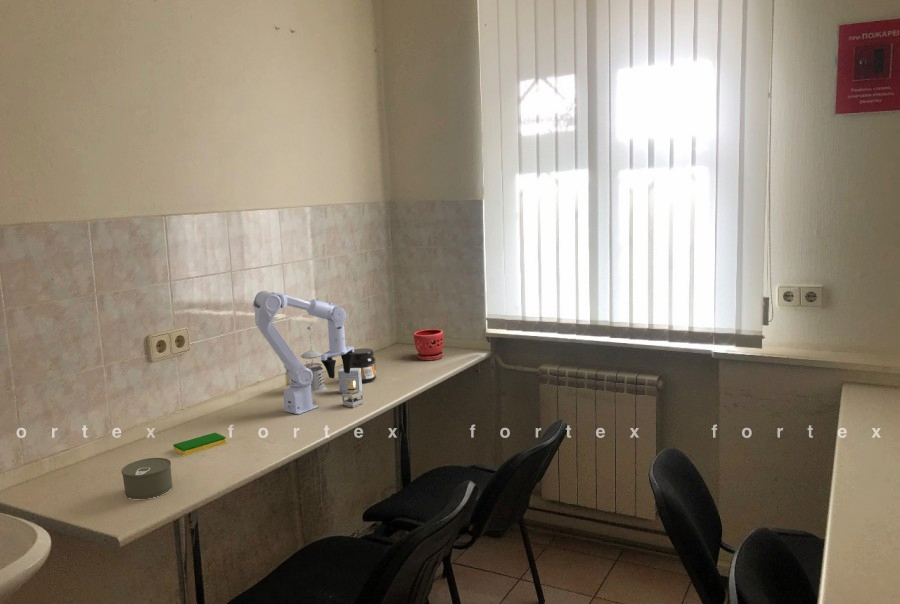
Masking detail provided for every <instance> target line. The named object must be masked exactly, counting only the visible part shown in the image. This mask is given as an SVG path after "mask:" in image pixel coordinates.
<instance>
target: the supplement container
mask: <svg viewBox="0 0 900 604" xmlns="http://www.w3.org/2000/svg"><path fill="white" fill-rule="evenodd" d="M352 353H355V356H354V358H353V361H352V364H351V368H361V380H362V384H368V383H371V382H374V381H376V379H377V367H376V357H375V356H374V355H375V351H374V349H372V348H369V347H368V348H365V347H364V348H354V352H352ZM367 382H368V383H367Z"/></svg>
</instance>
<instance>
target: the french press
mask: <svg viewBox="0 0 900 604" xmlns="http://www.w3.org/2000/svg"><path fill="white" fill-rule="evenodd" d="M306 329H307V330H313V326H311V325H309V326H307V327H306ZM309 340H310V343H312V337H311V334H309ZM321 354H323V353H322V352H320V351H318V350H312V347H310V350H307V351H305V352H304V353H302V354H301V355H300V358H302V359H306V361H305V364H304V366H305V367H306V368H308V369H310V370H311V371H312V373H313V379H312V381H311V390H312V394H319V392H320V393H323V392H326V391H327V390H328V388H327V387H326V386H325V377H324V376H325V375H324V367H322V365H323V363H322V362H321V363H320V362H313V359H316V358H317V359H318V358H321ZM307 359H308V360H311V361H310V363H308V361H307ZM325 390H326V391H325Z"/></svg>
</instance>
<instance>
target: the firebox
mask: <svg viewBox="0 0 900 604" xmlns="http://www.w3.org/2000/svg"><path fill="white" fill-rule="evenodd" d="M341 395H342V406H343V405H345V406H344V407H347V406H350V407H349V408H352V407H354V406H356V407H358V406H357V405H359V406H361V405H360V404H362V403H363V404H364V402H363V401H364V398H363V397H364V396H363V391H362V390H361V391H356V394H354V395H350V394H348V391H347V392H345V393H341ZM356 397H357V401H356V402H354V401H353V398H356ZM358 397H360V398H358ZM345 398H347V399H345ZM348 398H352V402H349V401H348ZM363 404H362V405H363ZM354 408H355V407H354Z"/></svg>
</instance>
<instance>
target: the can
mask: <svg viewBox="0 0 900 604" xmlns="http://www.w3.org/2000/svg"><path fill="white" fill-rule="evenodd" d="M171 465H172V463H171V460H170V459H168V458H164V457H150V458H144V459H139V460H136V461H133V462H131V463H128V464H126V465H125V466H124V467H122V469H121V474H122V479H123V487H124V495H126V496H127V497H128V498H131V499H148V498H153V497H156V498H158V497H157V496H159V497H161V496H160V495H162V494H164V493H166V492H168V491H169V490H170V489H171V488H172V489H173V487H174V486H173V478H172V467H171ZM172 486H173V487H172ZM172 489H171V490H172ZM169 492H170V491H169ZM169 492H168V493H169ZM166 494H167V493H166ZM164 495H165V494H164ZM126 496H125V497H126ZM162 496H163V495H162ZM128 498H127V499H128ZM131 499H130V500H131ZM153 499H154V498H153ZM148 500H149V499H148Z"/></svg>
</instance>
